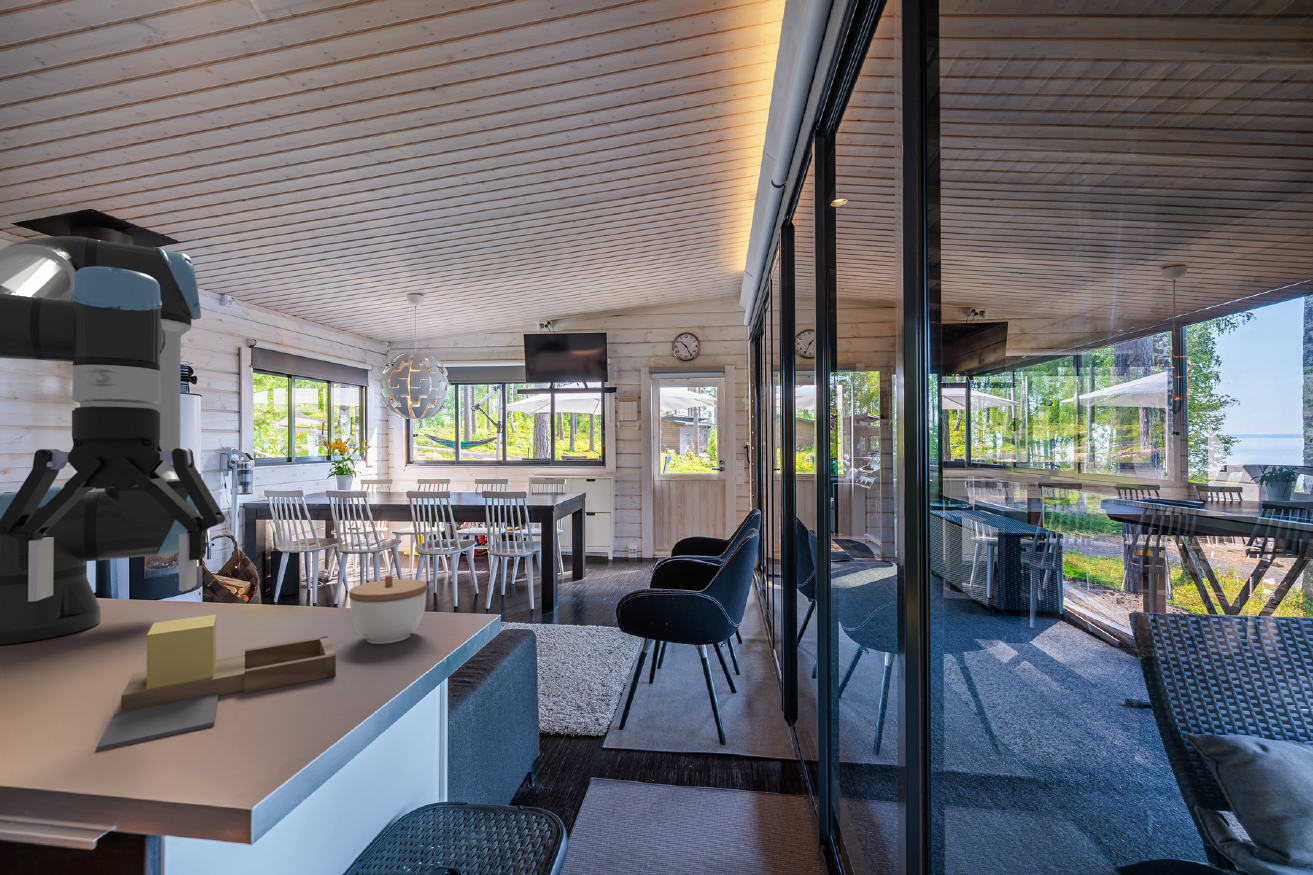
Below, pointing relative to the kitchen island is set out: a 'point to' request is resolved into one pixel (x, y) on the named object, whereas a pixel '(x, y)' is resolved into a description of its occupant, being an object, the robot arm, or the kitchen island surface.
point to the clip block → (181, 651)
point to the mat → (159, 721)
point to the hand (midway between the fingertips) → (116, 593)
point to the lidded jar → (387, 609)
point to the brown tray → (242, 674)
